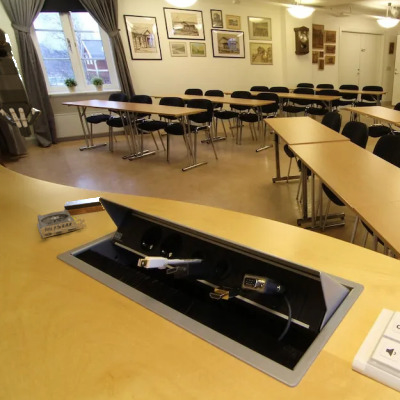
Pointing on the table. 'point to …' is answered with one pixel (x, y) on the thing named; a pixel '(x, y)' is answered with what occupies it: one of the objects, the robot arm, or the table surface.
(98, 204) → the brush
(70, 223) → the graphics card
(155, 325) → the table surface
